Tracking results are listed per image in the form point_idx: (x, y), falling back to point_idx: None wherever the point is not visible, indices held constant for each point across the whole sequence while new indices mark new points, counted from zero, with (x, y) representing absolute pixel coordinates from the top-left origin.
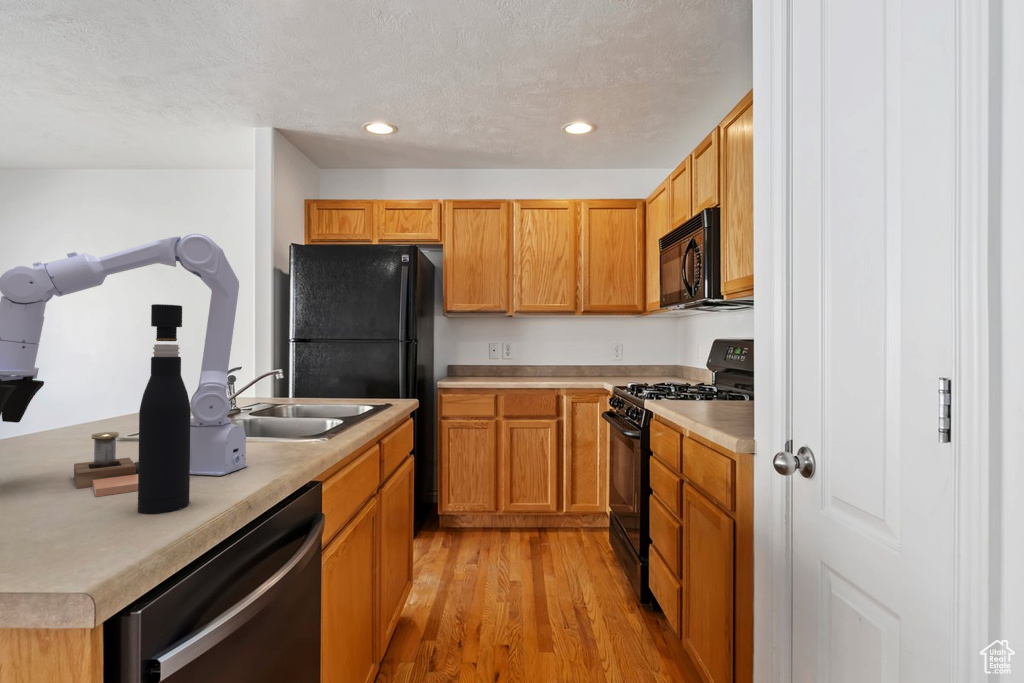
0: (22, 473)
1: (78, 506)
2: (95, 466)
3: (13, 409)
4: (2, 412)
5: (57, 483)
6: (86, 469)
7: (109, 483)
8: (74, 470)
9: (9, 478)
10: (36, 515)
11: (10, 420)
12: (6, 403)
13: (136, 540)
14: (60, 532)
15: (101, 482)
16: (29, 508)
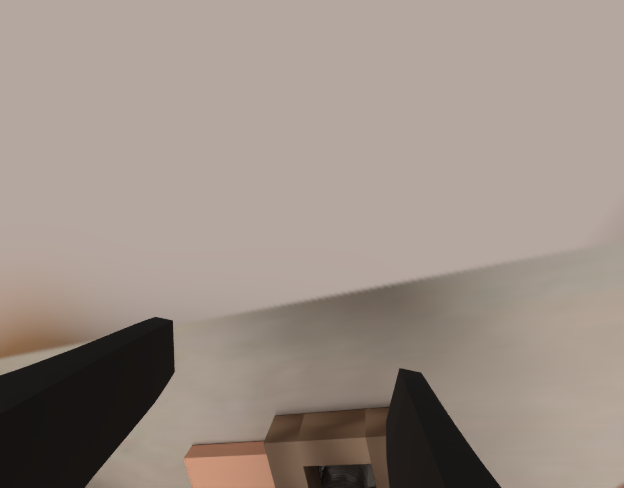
0: (543, 286)
1: (140, 422)
2: (329, 477)
3: (402, 471)
4: (412, 402)
5: (350, 379)
6: (302, 460)
7: (222, 479)
8: (377, 425)
9: (480, 269)
10: None
11: (394, 403)
12: (428, 477)
13: None
14: None
15: (237, 468)
16: None
